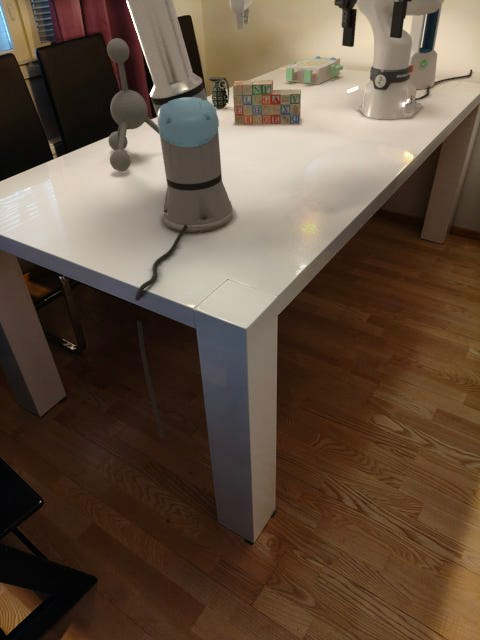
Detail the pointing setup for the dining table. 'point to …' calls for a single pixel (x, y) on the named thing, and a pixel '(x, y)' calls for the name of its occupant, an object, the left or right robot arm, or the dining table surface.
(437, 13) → the electronic device
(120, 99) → the molecular model
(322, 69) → the decorative block
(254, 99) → the stack of blocks
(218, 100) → the grenade
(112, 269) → the dining table surface
